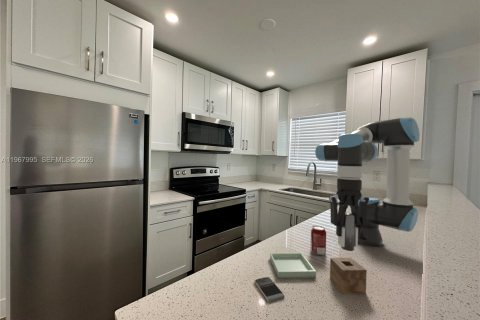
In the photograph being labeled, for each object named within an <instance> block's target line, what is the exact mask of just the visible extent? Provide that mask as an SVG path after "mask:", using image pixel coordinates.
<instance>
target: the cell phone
mask: <svg viewBox="0 0 480 320" xmlns="http://www.w3.org/2000/svg"><path fill="white" fill-rule="evenodd" d="M253 282H254V284H255V286H256V288H257V289H258V291H259V292H260V293H261V295H262V297H263V298H265V300H266V302H268V303H269V304H273V303H276V302H279V301H282V300H285V294H284V293H283V291H282V290H281V289H280V288H279V286H277V284H276V283H275V282H274V281H273V280H272V279H271V277H268V276H265V277H259V278H256V279H254V281H253Z"/></svg>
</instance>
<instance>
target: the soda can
mask: <svg viewBox="0 0 480 320" xmlns="http://www.w3.org/2000/svg"><path fill="white" fill-rule="evenodd" d="M310 252H312V254H314V255H317V256H324V255H325V254H327V253H326V252H327V231H326V228H325V227H324V226H322V225H312V228H311V229H310Z"/></svg>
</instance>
